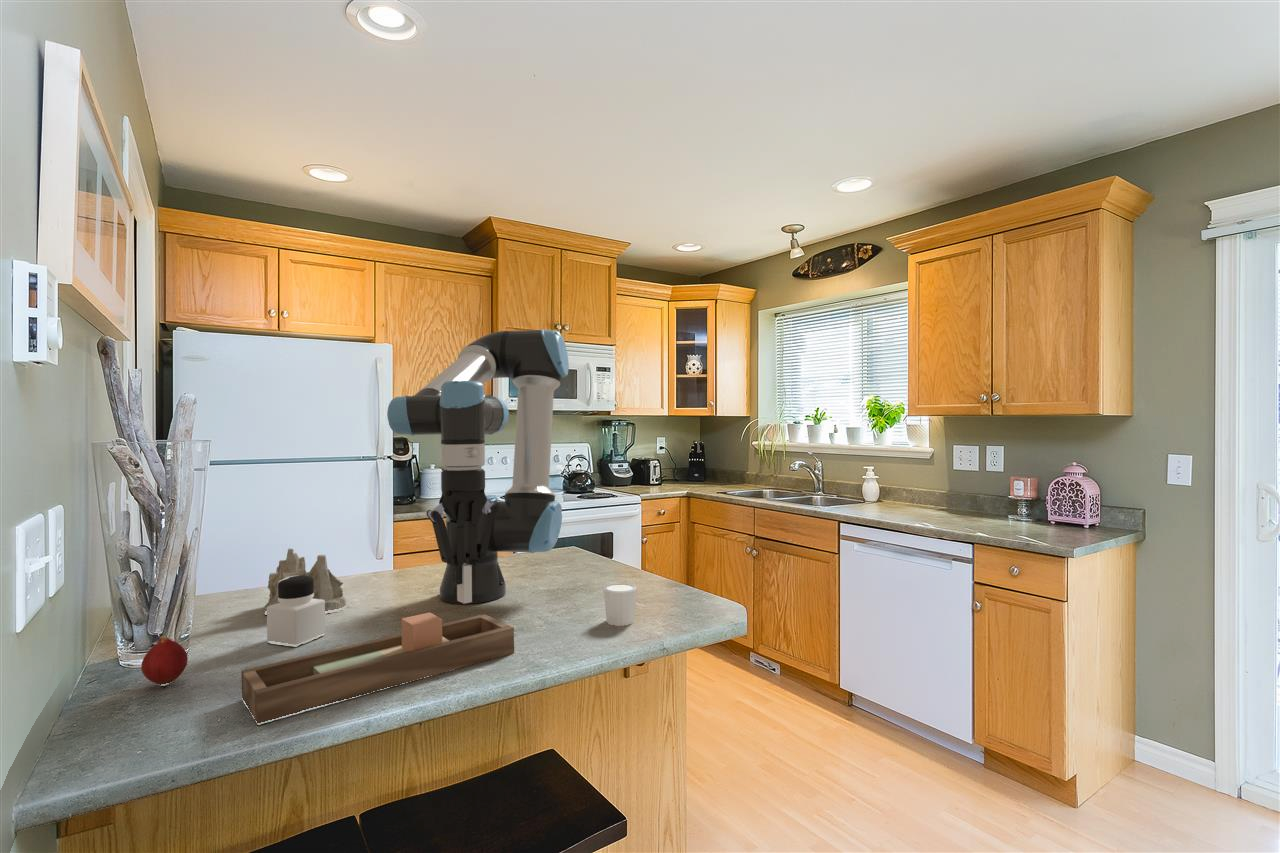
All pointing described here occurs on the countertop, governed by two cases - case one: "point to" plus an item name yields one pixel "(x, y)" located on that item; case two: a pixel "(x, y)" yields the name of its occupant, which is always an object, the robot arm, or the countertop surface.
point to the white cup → (620, 604)
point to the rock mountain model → (323, 579)
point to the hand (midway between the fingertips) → (464, 601)
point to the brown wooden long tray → (369, 667)
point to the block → (421, 631)
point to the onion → (164, 661)
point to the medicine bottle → (295, 612)
